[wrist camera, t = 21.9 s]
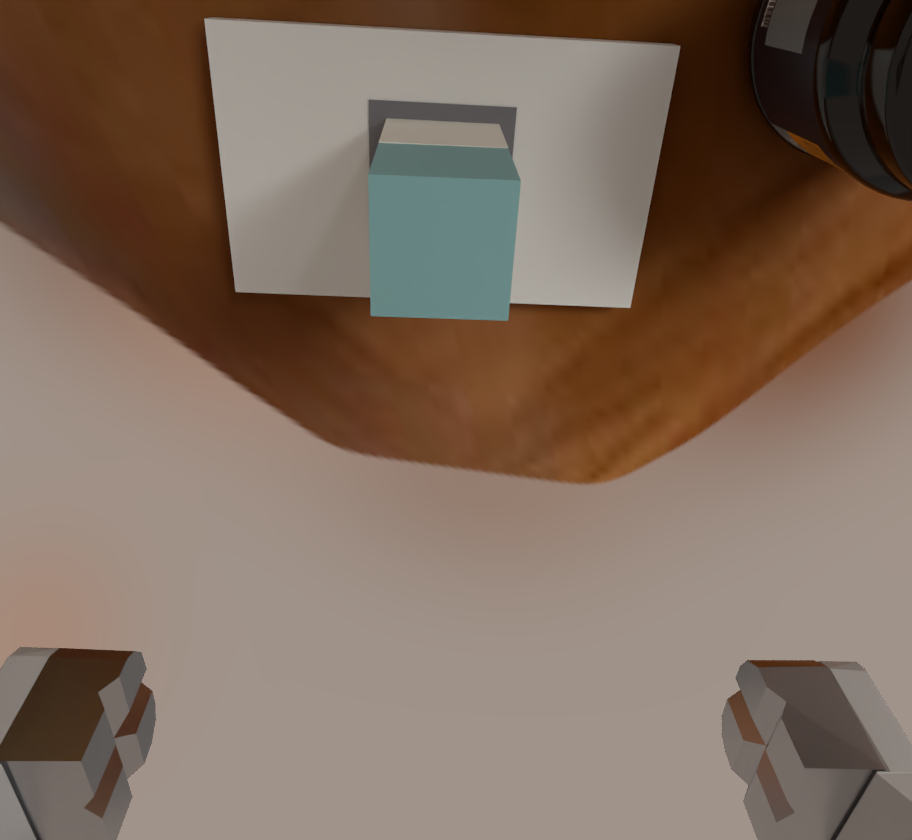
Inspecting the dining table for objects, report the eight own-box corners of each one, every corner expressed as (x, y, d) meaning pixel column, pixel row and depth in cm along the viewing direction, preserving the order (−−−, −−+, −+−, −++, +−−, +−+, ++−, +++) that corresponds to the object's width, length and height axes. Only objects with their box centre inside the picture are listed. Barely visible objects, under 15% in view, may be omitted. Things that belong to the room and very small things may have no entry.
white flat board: (672, 43, 32) (681, 46, 31) (625, 298, 38) (630, 308, 37) (211, 16, 31) (203, 18, 30) (240, 283, 37) (235, 292, 36)
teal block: (508, 148, 28) (521, 180, 24) (498, 271, 31) (508, 320, 27) (378, 142, 28) (368, 174, 24) (379, 267, 31) (370, 316, 26)
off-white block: (499, 124, 32) (508, 147, 28) (490, 234, 35) (497, 271, 31) (386, 118, 32) (378, 141, 28) (386, 229, 35) (379, 266, 31)
